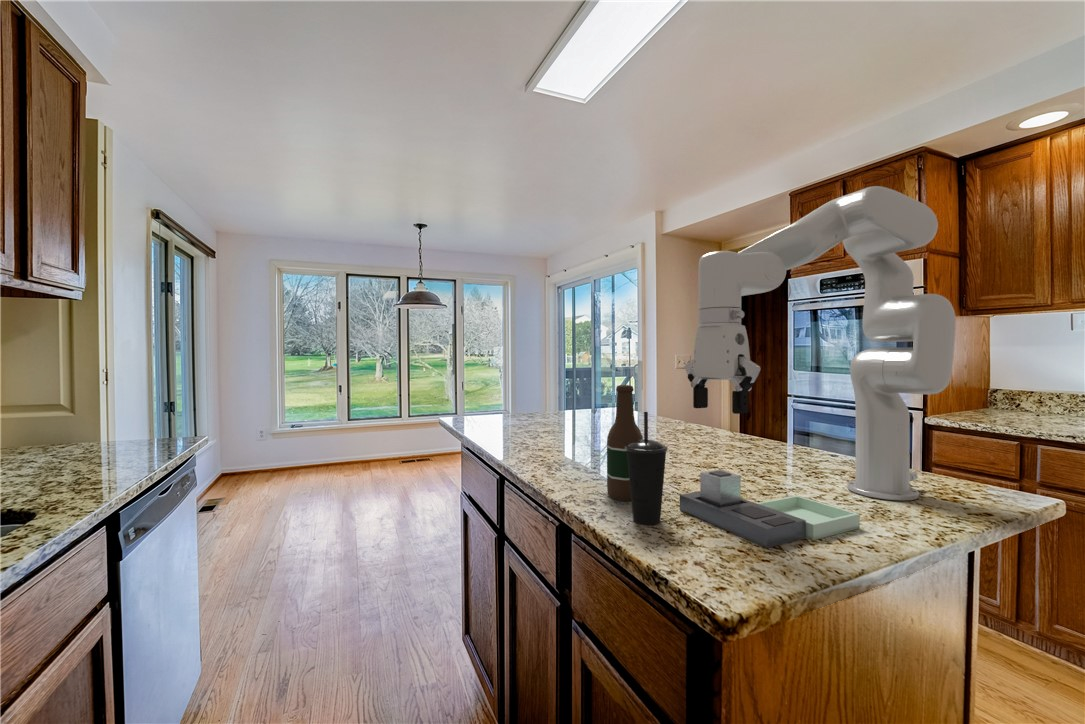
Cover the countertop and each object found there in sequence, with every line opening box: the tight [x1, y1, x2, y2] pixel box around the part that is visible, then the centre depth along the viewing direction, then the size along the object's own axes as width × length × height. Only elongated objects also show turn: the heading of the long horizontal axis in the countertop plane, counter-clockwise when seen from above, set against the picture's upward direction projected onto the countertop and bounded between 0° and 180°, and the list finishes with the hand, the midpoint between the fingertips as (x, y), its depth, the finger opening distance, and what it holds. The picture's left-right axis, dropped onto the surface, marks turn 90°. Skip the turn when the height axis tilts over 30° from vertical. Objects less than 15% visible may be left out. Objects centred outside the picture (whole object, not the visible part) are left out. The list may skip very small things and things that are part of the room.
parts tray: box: [756, 494, 861, 541], centre depth 83 cm, size 12×12×2 cm
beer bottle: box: [606, 384, 644, 502], centre depth 99 cm, size 8×8×24 cm
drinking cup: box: [625, 411, 669, 526], centre depth 84 cm, size 8×8×20 cm
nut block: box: [699, 469, 742, 508], centre depth 87 cm, size 5×5×8 cm
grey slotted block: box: [679, 491, 807, 549], centre depth 83 cm, size 9×20×3 cm, turn 24°
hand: (719, 410), depth 86 cm, fingers open, 9 cm apart
